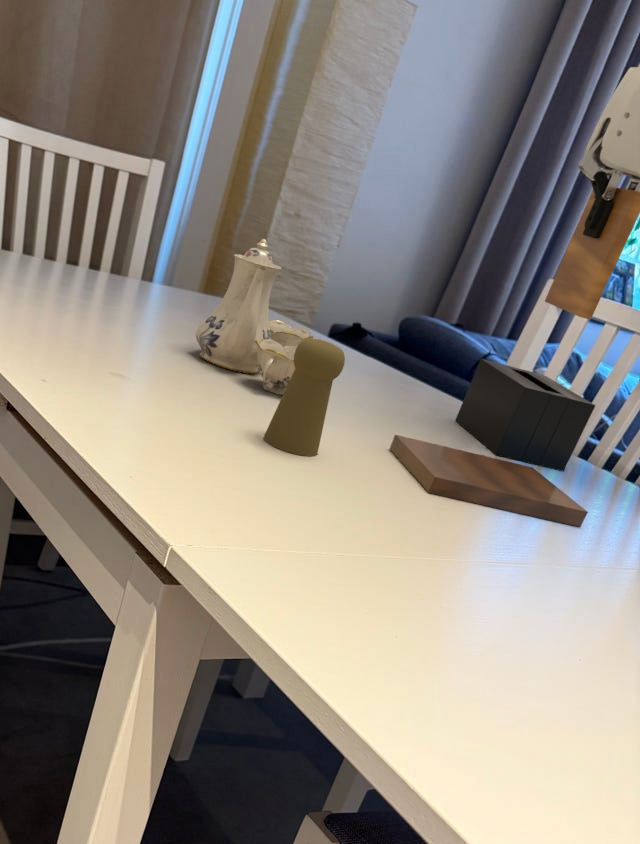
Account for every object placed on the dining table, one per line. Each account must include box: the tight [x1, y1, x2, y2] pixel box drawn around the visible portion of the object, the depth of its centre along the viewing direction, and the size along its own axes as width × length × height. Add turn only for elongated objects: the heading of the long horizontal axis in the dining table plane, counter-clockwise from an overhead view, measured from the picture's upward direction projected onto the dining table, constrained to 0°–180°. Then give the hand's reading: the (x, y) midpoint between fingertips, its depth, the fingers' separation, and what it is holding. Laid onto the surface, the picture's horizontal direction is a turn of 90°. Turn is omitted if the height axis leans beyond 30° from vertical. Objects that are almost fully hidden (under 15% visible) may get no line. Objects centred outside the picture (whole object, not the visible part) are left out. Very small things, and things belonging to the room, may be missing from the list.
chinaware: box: [195, 238, 314, 396], centre depth 124 cm, size 28×17×17 cm, turn 179°
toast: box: [544, 187, 640, 320], centre depth 112 cm, size 2×10×14 cm, turn 4°
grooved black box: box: [454, 358, 596, 472], centre depth 125 cm, size 11×15×9 cm
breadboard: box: [389, 434, 589, 528], centre depth 104 cm, size 18×14×2 cm
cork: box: [263, 338, 346, 457], centre depth 96 cm, size 6×6×11 cm
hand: (598, 238), depth 111 cm, fingers closed on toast, 1 cm apart
